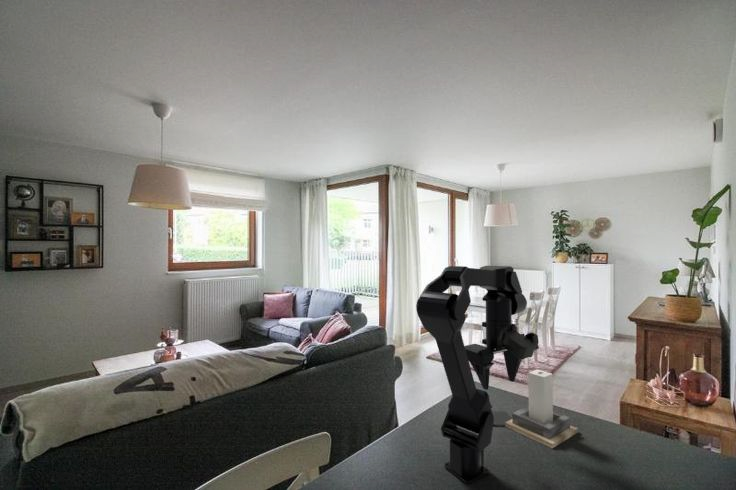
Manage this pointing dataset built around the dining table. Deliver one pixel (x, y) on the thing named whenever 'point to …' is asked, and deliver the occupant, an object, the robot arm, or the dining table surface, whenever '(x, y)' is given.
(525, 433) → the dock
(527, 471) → the dining table surface
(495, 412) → the smartphone
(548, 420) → the block
